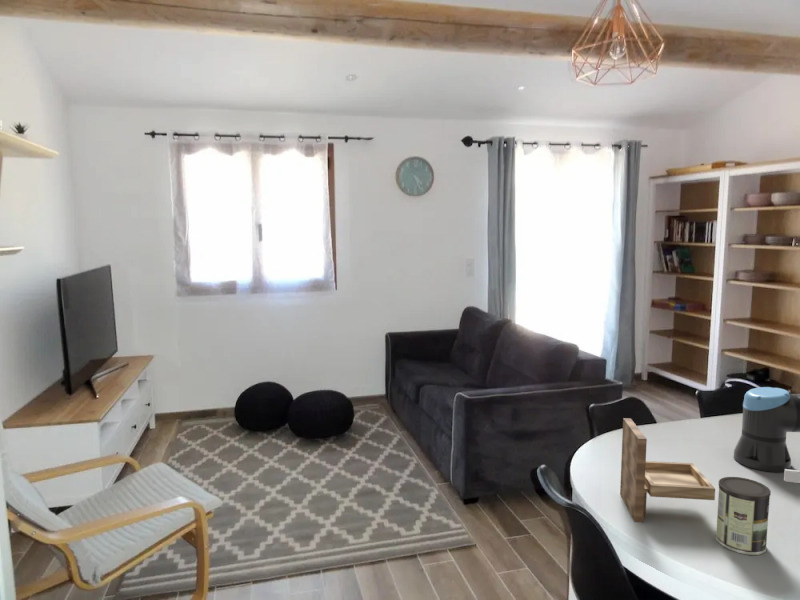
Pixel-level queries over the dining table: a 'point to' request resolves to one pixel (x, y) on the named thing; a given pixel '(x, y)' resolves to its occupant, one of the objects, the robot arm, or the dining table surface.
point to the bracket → (655, 475)
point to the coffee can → (742, 515)
